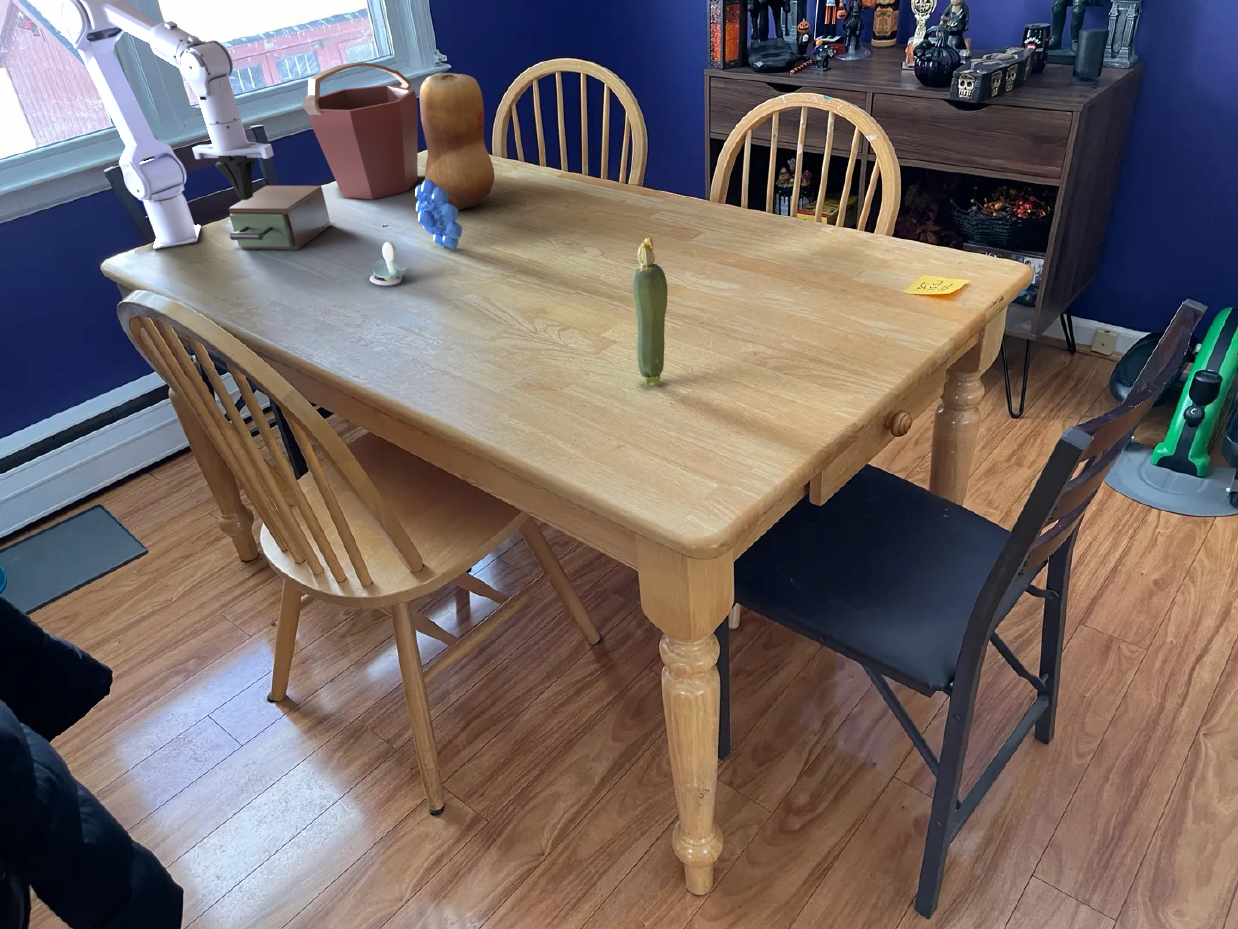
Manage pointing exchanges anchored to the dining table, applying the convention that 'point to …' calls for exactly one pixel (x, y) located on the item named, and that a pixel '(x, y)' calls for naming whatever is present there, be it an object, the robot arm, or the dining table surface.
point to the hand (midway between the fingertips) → (246, 198)
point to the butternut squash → (456, 138)
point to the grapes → (437, 214)
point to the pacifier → (390, 273)
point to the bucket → (367, 134)
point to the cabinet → (290, 210)
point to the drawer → (261, 229)
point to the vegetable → (649, 313)
